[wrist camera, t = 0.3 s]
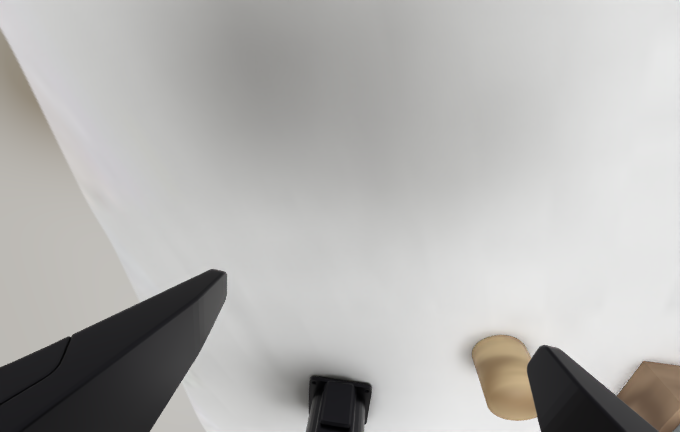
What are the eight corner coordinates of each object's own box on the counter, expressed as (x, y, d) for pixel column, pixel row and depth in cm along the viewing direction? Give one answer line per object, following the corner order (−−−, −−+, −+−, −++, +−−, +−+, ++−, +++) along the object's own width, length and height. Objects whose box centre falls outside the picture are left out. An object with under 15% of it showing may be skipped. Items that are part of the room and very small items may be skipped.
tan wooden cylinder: (516, 373, 28) (539, 424, 24) (466, 366, 28) (480, 415, 24) (533, 338, 26) (561, 388, 22) (479, 331, 26) (496, 378, 22)
